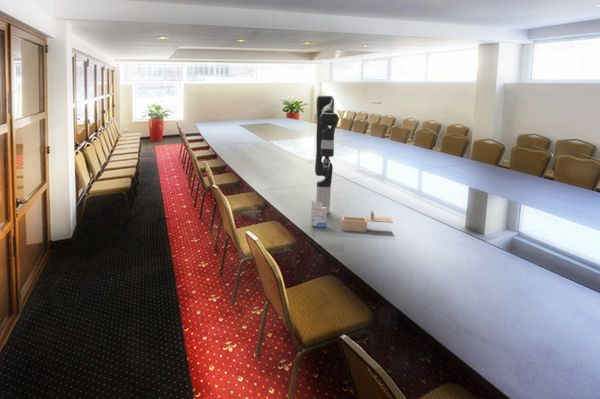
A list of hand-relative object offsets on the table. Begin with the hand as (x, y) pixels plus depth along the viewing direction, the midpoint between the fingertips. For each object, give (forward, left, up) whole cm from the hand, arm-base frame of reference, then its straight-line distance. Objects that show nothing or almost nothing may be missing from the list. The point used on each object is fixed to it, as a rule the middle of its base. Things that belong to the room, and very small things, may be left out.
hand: (326, 176), depth 235 cm
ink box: (-1, -3, -30) cm, 31 cm away
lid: (+2, +32, -24) cm, 40 cm away
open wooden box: (+2, +18, -30) cm, 35 cm away
